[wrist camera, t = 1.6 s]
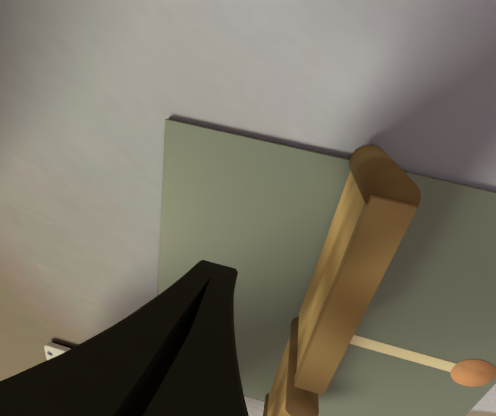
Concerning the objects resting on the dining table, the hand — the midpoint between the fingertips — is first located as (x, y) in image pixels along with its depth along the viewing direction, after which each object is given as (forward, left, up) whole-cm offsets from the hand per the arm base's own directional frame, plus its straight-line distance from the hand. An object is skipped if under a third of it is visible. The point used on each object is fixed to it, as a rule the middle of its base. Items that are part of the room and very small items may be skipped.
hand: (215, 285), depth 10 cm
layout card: (-6, -6, -7) cm, 11 cm away
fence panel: (0, -5, -6) cm, 8 cm away
